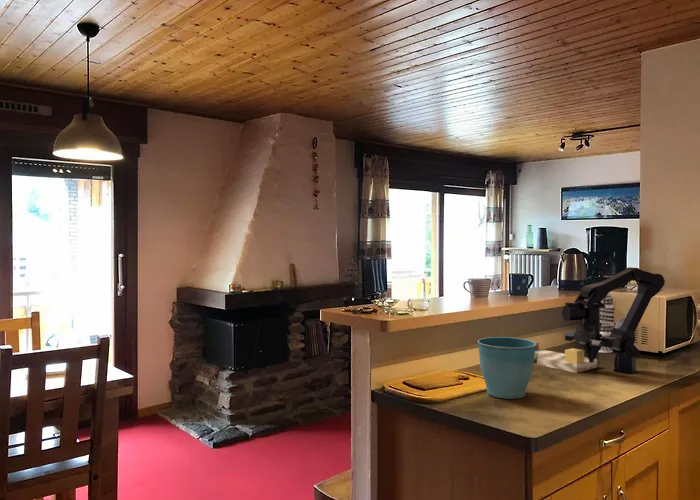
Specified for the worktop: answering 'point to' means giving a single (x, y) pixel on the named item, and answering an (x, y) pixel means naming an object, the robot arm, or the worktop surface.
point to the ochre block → (574, 356)
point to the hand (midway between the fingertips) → (591, 362)
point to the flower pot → (506, 365)
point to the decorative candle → (606, 321)
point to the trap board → (560, 361)
